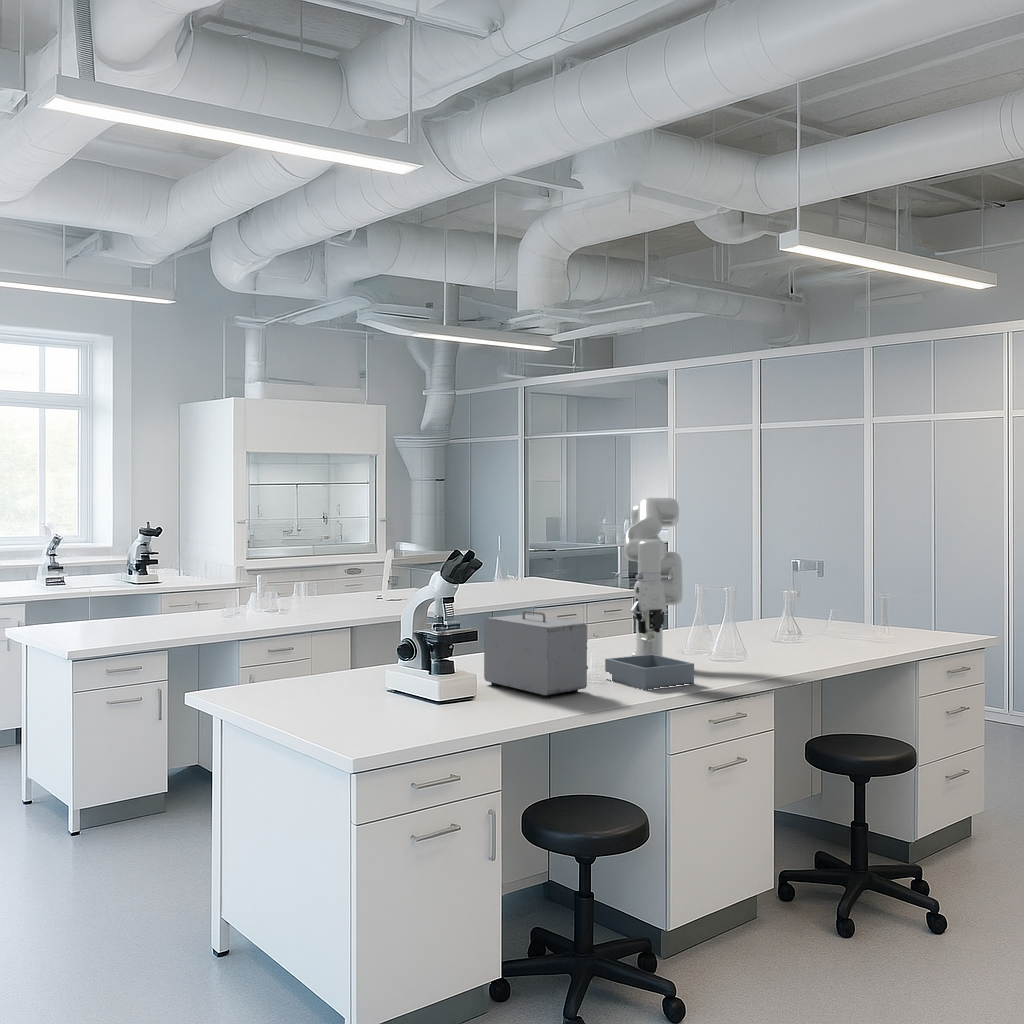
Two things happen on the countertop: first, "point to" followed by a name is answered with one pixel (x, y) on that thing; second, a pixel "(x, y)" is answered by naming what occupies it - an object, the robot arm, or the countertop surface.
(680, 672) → the parts bin
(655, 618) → the pneumatic valve
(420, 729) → the countertop surface
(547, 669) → the vintage electronic device
